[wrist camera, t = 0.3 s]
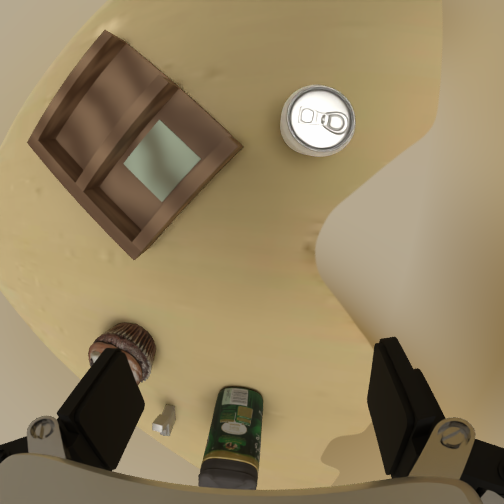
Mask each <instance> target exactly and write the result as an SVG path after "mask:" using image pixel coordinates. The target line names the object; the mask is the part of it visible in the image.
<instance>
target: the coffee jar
mask: <svg viewBox="0 0 504 504" xmlns="http://www.w3.org/2000/svg"><path fill="white" fill-rule="evenodd" d="M262 415H263V399H262V397H261V395H260V394H258V393H257V392H255V391H252V390H250V389H246V388H240V387H230V388H225V389H223V390H222V391H220V393H219V394H218V397H217V401H216V405H215V409H214V414H213V419H212V423H211V427H210V432H209V436H208V440H207V445H206V449H205V453H204V457H203V461H202V465H201V469H200V474H199V487H209V488H222V489H242V490H256V487H257V480H258V471H259V460H260V447H261V429H262Z"/></svg>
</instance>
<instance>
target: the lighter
mask: <svg viewBox="0 0 504 504" xmlns="http://www.w3.org/2000/svg"><path fill="white" fill-rule="evenodd" d="M175 420H176V417H175V406H172V405H167V404H166V406H165V408H164V411H163V413H162V415H161V414H160V415H159V416H158V417H157V418H156V419H155V421H154V422H153V426H152V430H154V431H158V432H160V434H161V435H163V436H170V434H171V431H172V428H173V425H174V423H175Z"/></svg>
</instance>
